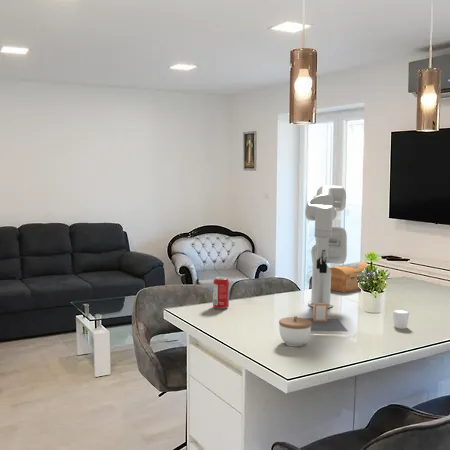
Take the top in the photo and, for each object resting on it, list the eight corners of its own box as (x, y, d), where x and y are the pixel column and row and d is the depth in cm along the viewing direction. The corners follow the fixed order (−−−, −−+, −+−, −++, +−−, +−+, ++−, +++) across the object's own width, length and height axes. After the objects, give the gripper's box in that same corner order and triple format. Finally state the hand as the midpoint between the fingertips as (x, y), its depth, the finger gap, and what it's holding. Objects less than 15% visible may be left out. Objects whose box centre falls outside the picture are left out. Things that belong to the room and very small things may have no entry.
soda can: (210, 308, 273) (211, 278, 271) (215, 305, 280) (216, 275, 279) (225, 310, 270) (226, 279, 269) (230, 306, 277) (231, 277, 276)
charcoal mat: (298, 319, 256) (299, 318, 256) (337, 320, 257) (338, 318, 257) (305, 331, 237) (305, 330, 237) (347, 332, 237) (347, 331, 237)
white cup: (410, 326, 249) (410, 310, 249) (406, 329, 243) (407, 314, 243) (394, 323, 253) (395, 308, 252) (390, 327, 247) (391, 311, 246)
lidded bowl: (316, 343, 220) (317, 316, 219) (298, 351, 211) (299, 322, 210) (290, 337, 228) (291, 310, 227) (272, 343, 219) (272, 316, 218)
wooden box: (349, 282, 349) (350, 260, 348) (373, 286, 338) (374, 263, 336) (321, 288, 328) (322, 265, 327) (345, 293, 317) (346, 269, 315)
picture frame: (313, 320, 254) (313, 302, 253) (326, 320, 254) (326, 303, 253) (313, 321, 251) (314, 303, 251) (327, 321, 251) (327, 304, 251)
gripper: (312, 231, 262) (311, 267, 264) (317, 236, 245) (315, 274, 247) (328, 231, 262) (327, 267, 264) (334, 236, 245) (332, 274, 247)
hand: (321, 270), depth 256 cm, fingers open, 9 cm apart
